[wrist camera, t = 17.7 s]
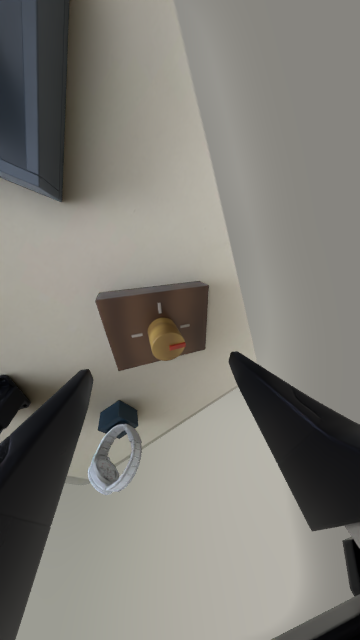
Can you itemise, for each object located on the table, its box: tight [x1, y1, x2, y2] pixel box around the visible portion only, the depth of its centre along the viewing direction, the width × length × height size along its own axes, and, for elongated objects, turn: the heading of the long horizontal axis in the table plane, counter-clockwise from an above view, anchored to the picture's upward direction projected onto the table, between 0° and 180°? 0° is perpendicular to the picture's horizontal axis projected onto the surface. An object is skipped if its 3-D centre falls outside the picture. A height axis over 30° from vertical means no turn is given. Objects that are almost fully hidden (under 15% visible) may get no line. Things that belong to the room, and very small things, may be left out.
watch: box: [88, 400, 142, 495], centre depth 25 cm, size 6×8×11 cm
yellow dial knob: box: [148, 318, 186, 361], centre depth 18 cm, size 4×4×4 cm
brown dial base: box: [95, 281, 209, 371], centre depth 21 cm, size 14×11×3 cm
